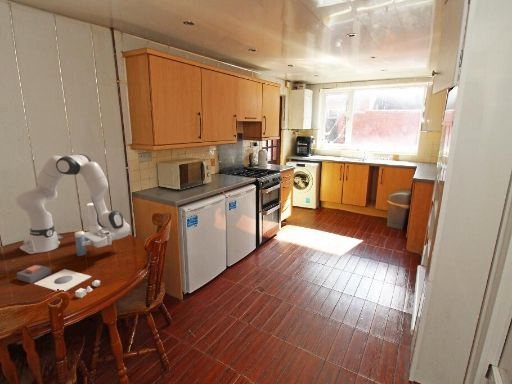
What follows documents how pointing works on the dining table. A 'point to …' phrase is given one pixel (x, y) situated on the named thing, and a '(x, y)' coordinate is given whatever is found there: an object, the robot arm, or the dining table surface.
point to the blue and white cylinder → (80, 238)
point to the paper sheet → (63, 280)
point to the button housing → (33, 274)
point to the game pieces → (82, 292)
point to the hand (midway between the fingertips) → (78, 243)
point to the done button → (33, 269)
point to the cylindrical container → (92, 218)
